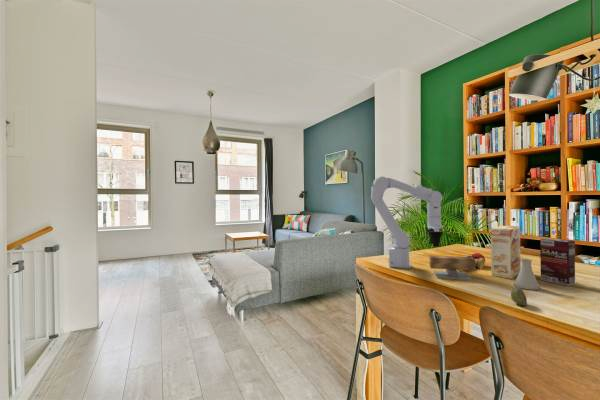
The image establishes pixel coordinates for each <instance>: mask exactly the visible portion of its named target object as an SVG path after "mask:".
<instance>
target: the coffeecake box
mask: <svg viewBox="0 0 600 400" xmlns="http://www.w3.org/2000/svg"><path fill="white" fill-rule="evenodd" d="M490 252H491V253H490V255H491V256H490V259H491V260H490V261H491V263H490V264H491V266H490V267H491V271H490V272H491V276H492V277H493V276H494V277H499V278H504V279H509V280H510V279H511V280H512V279H513V278H515V277H516V276H518V274H519V272H520V269H521V260H520V259H521V226H517V225H500V226H495V227H491V228H490Z"/></svg>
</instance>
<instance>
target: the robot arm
mask: <svg viewBox="0 0 600 400" xmlns="http://www.w3.org/2000/svg"><path fill="white" fill-rule="evenodd" d="M370 188H371V189H370V191H371V192H370V200H371V202H372V204H373V205H374V207H375V208H376V210H377V212H378V214H379V215H380V218H382V221H383V222H384V223H385V225H386V227H387V229H388V230H389V233H390V235H391V239H392V242H393V243H394V244H393V246H392V247H391V246H389V247H388V256H389V257H388V267H389V268H399V269H400V268H401V269H404V268H405V269H412V267H411V263H410V244H411V239H410V237H409V236H408V235H407V234H406V233H405V232H404V231H403V230H402V228H401V227H400V225H399V224H398V222H397V221H396V219H395V217H394V216H393V214H392V212H391V210H390V209H389V207H388V205H387V204H386V202H385V201H384V199H383V197H384V194H385V192H386V190H387V189H393V188H394V189H398V190H400V191H405V192H407V193H410V196H411V197H414V198H417V199H420V200H422V201H426V203H427V204H426V206H427V207H426V210H427V212H426V213H427V218H426V219H427V226H426V228H428V229H426V231H427V233H428V237H429V240H430V244H431V245H432V246H433V247H435V248H438V247H440V242H441V238H442V236H443V234H444V232H443V231H441V229H442V228H445V225H442V209H441V208H442V207H441V206H442V205H441V204H442V203H441V202H442V201H443V199H444V197H443V195H442V193H441V192H440V191H438V190H433V188H431V187H430V188H428V187H425V186H423V184H415V185H410V184H407V183H404V182H402V181H399V180H398V179H394V178H390V177H385V176H379V177H377V178H375V179H373V181H372V183H371V186H370Z"/></svg>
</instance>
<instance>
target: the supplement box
mask: <svg viewBox="0 0 600 400" xmlns="http://www.w3.org/2000/svg"><path fill="white" fill-rule="evenodd" d="M539 242H540V244H539V246H540V247H539V248H540V251H539V252H540V255H539V256H540V258H539V259H540V260H539V261H540V281H544V282H548V283H552V284H553V283H554V284H558V285H562V286H566V287H570V286H571V287H572V286H573V285H576V246H575V245H576V244H575V243H576V242H575V240H569V239H568V240H567V239H559V238H549V237H546V238H545V237H544V238H540V240H539Z"/></svg>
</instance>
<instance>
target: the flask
mask: <svg viewBox="0 0 600 400" xmlns="http://www.w3.org/2000/svg"><path fill="white" fill-rule="evenodd" d="M532 261H533V259H531V258H521V257H520V263H521V269H520V272H519V274H517V277H516V279H515V282H514V284H513V286H515V288H521V289H522V290H523V289H524V290H531V291H539V290H540V288H541V287H540V285H539V282H538V281H537V278H536V276H535V273H534V272H533V268H532Z"/></svg>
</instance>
